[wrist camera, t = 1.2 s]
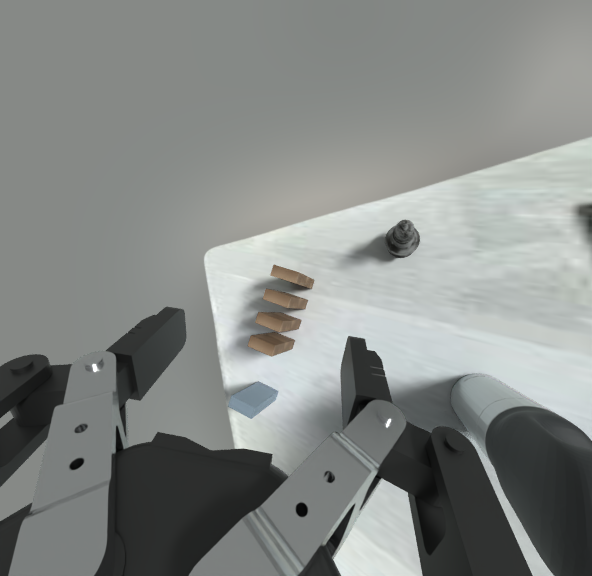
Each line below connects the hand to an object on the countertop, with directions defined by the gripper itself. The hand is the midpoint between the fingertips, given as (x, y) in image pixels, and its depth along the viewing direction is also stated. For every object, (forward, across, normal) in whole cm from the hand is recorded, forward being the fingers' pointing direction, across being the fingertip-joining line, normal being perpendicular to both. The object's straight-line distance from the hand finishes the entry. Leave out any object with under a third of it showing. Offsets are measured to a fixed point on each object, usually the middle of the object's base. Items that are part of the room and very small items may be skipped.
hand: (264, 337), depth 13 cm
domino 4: (+37, -2, -28) cm, 46 cm away
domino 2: (+40, -1, -20) cm, 45 cm away
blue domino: (+32, -4, -38) cm, 49 cm away
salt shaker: (+42, +18, -5) cm, 46 cm away
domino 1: (+42, 0, -16) cm, 45 cm away
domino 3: (+38, -2, -24) cm, 45 cm away
